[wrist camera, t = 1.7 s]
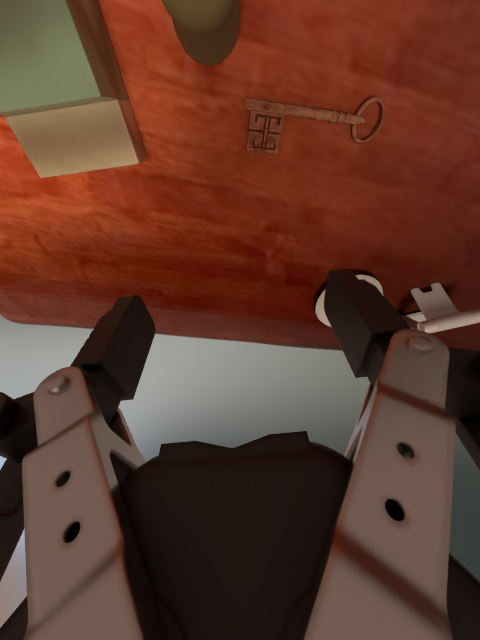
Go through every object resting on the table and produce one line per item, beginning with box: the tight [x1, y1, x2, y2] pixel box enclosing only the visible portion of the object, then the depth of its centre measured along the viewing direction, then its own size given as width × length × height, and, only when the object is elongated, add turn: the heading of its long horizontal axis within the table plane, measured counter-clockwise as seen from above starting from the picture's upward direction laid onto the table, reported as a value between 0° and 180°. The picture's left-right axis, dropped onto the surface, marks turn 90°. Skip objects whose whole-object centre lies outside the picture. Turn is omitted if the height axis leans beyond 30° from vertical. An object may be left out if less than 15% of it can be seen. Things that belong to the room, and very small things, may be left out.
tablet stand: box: [401, 283, 480, 333], centre depth 40 cm, size 9×8×8 cm
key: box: [245, 96, 385, 154], centre depth 25 cm, size 6×1×15 cm
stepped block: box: [0, 0, 147, 178], centre depth 17 cm, size 19×11×10 cm, turn 6°
